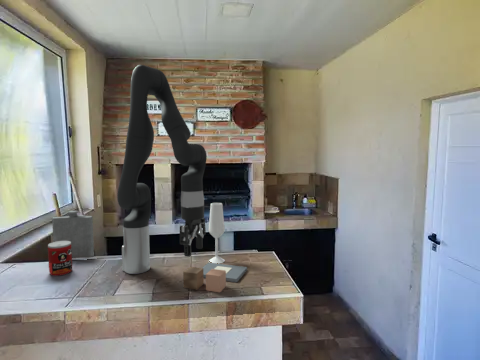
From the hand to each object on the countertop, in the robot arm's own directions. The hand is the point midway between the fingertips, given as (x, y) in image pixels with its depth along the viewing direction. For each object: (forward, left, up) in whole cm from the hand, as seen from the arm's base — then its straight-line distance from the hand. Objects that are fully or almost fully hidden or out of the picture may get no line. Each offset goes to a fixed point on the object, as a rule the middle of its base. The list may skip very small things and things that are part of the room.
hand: (193, 252), depth 106 cm
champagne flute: (-2, +25, -12) cm, 28 cm away
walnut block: (0, 0, -12) cm, 12 cm away
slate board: (+5, +13, -12) cm, 18 cm away
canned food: (-53, -5, -12) cm, 55 cm away
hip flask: (-62, +10, -12) cm, 64 cm away
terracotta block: (+8, +1, -12) cm, 14 cm away
